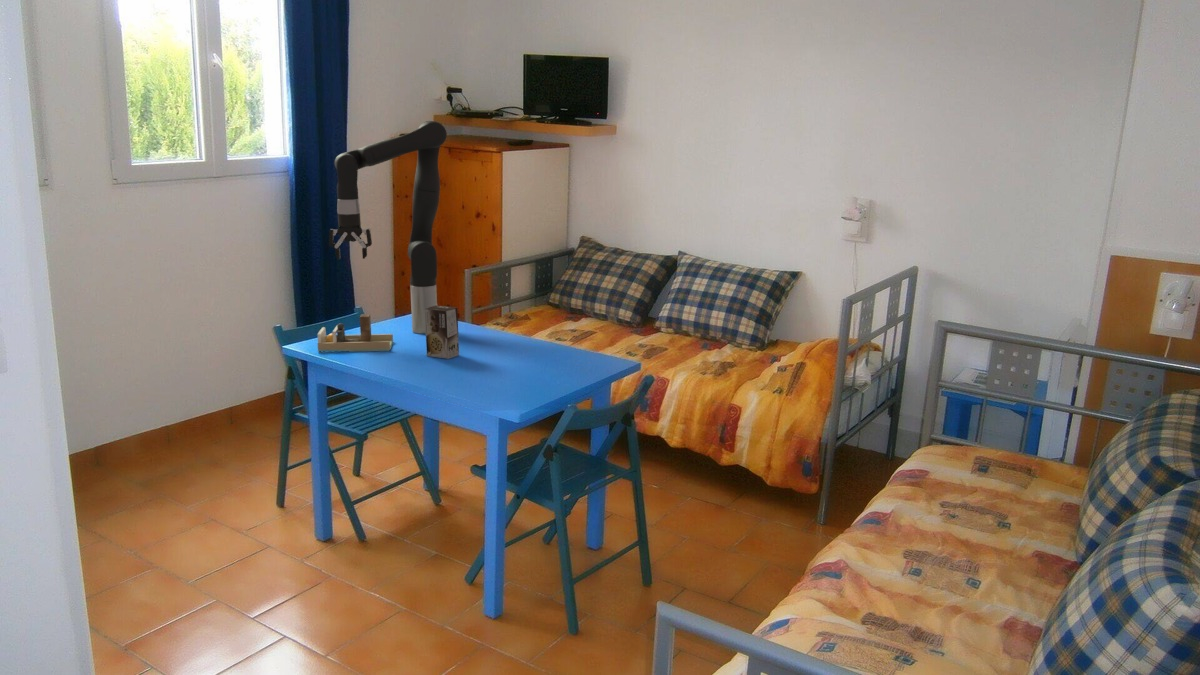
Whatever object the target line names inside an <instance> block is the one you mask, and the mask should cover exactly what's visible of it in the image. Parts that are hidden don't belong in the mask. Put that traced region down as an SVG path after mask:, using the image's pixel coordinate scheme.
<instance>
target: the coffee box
mask: <svg viewBox="0 0 1200 675" xmlns="http://www.w3.org/2000/svg"><path fill="white" fill-rule="evenodd" d="M425 328H426V333H425V341H426V342H425V344H426V346H425V347H426V356H427V357H433V358H440V359H447V360H450V359H452V358H455V357H458V356H460V347H459V318H458V307H455V306H448V305H447V306H444V305H438V304H437V305H435V306H432V307H429V308H426V309H425Z"/></svg>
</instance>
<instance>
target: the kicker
mask: <svg viewBox="0 0 1200 675" xmlns="http://www.w3.org/2000/svg"><path fill="white" fill-rule="evenodd" d="M371 322H372V321H371V313H362V314H360V316H359V330H360V331H359V332H360V335H361V339H345V335H346V333H345V332H346V331H345V325H344V323H342V322H340V323H338V324H337V325H336V326H337V327H338V329H339V330H338V331H337V333H336V335H337V336H338V342H371V340H372V339H371V334H372V325H371Z"/></svg>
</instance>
